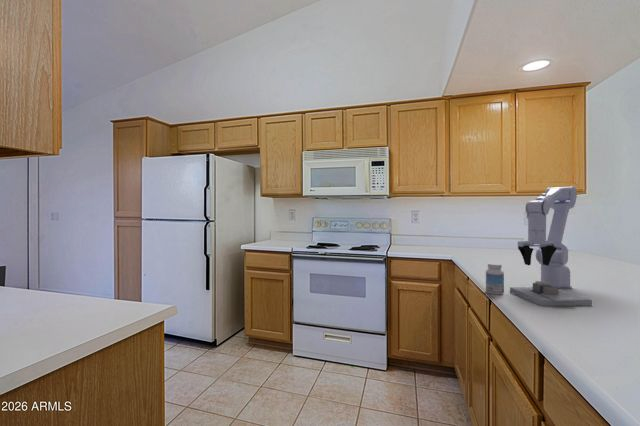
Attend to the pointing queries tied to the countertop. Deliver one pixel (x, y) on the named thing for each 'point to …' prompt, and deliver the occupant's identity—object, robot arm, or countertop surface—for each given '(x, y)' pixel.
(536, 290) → the plug
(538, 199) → the robot arm
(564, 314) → the countertop surface
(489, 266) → the pill bottle
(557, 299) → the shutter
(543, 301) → the socket panel
